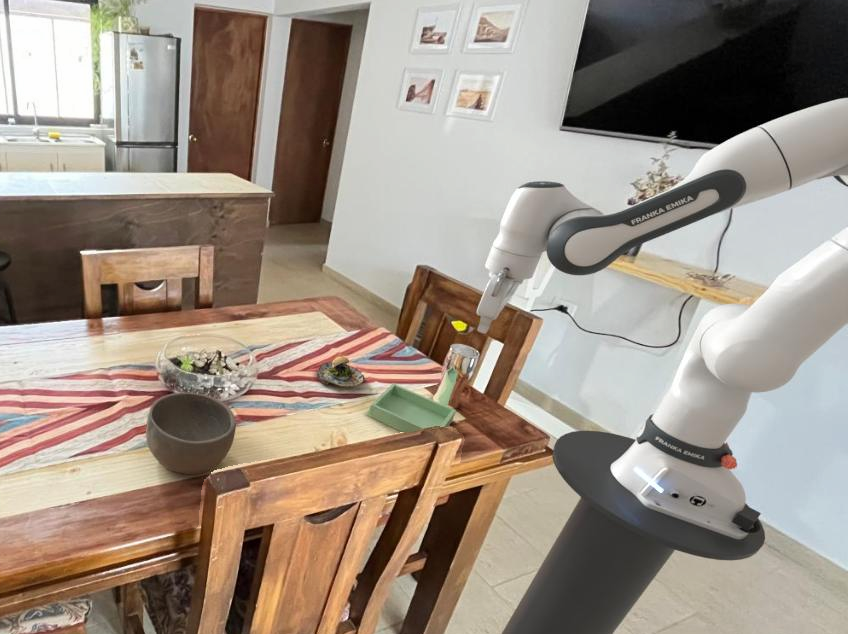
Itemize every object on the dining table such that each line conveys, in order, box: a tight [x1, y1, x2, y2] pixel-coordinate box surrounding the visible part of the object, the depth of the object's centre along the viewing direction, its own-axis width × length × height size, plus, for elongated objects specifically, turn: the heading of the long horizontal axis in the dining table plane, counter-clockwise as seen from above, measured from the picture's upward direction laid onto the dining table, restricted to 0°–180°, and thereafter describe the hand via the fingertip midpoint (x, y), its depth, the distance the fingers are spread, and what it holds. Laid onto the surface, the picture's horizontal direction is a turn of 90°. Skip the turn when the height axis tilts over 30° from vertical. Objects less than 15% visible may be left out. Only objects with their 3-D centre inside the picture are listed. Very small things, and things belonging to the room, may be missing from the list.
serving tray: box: [367, 382, 457, 434], centre depth 121 cm, size 16×14×3 cm
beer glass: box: [432, 343, 481, 410], centre depth 126 cm, size 7×7×15 cm
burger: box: [316, 355, 366, 388], centre depth 133 cm, size 12×12×8 cm
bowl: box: [145, 391, 237, 475], centre depth 100 cm, size 17×18×10 cm
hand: (487, 324), depth 110 cm, fingers open, 8 cm apart
